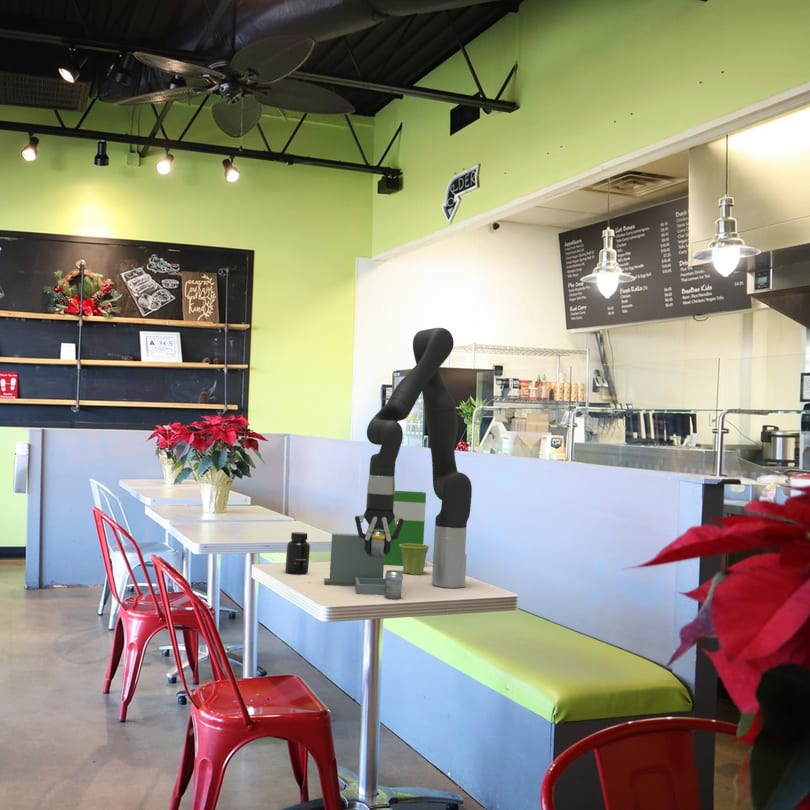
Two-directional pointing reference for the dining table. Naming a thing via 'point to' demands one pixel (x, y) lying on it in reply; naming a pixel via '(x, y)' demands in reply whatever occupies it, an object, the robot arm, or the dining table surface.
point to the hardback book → (406, 523)
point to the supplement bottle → (297, 554)
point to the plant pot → (413, 558)
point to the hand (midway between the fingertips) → (376, 553)
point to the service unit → (351, 561)
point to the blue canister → (393, 584)
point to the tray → (370, 586)
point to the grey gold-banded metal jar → (377, 543)
